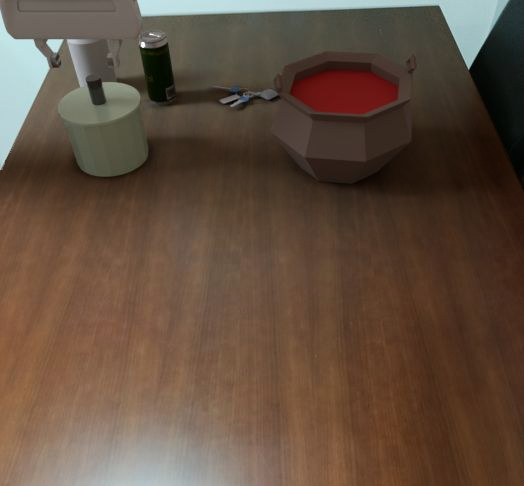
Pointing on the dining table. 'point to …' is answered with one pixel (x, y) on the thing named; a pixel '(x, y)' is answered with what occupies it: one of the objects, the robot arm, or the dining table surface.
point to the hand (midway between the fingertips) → (85, 66)
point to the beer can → (157, 67)
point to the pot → (110, 146)
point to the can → (91, 59)
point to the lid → (99, 103)
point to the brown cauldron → (344, 113)
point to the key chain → (265, 94)
